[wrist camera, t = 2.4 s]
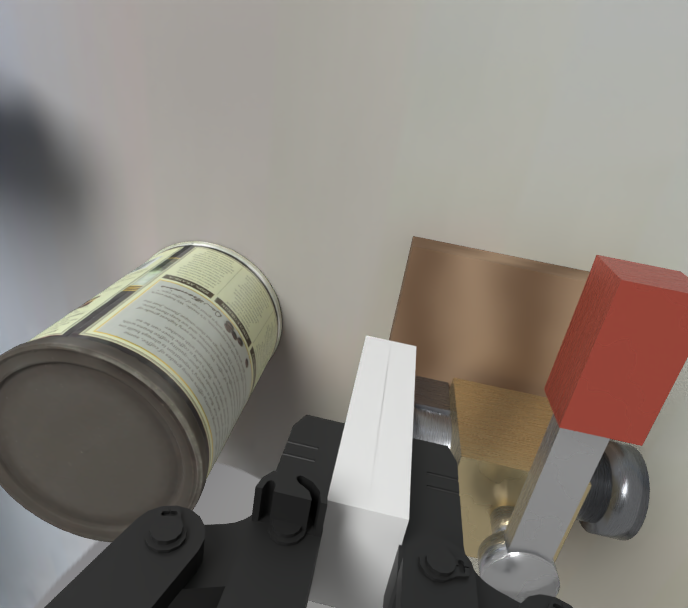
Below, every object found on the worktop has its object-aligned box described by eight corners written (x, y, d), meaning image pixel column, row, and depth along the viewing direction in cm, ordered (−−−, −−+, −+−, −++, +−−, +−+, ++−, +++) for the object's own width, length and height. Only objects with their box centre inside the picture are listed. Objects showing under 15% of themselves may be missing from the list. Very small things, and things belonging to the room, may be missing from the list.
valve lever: (537, 584, 24) (549, 635, 22) (468, 568, 24) (473, 617, 22) (686, 272, 17) (724, 300, 15) (590, 253, 18) (614, 278, 15)
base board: (354, 490, 39) (350, 510, 37) (413, 236, 30) (412, 246, 29) (541, 534, 38) (547, 557, 36) (654, 284, 30) (669, 298, 28)
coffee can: (246, 405, 37) (153, 578, 24) (115, 335, 36) (-53, 476, 23) (311, 291, 33) (241, 428, 20) (165, 209, 32) (-7, 296, 19)
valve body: (368, 432, 34) (349, 562, 25) (387, 354, 32) (373, 466, 22) (583, 481, 33) (643, 632, 24) (619, 404, 31) (702, 541, 22)
